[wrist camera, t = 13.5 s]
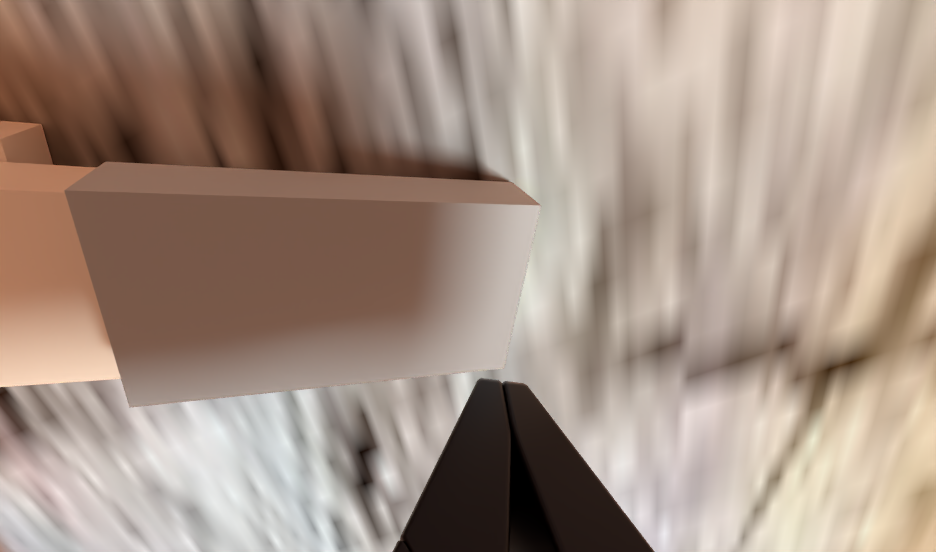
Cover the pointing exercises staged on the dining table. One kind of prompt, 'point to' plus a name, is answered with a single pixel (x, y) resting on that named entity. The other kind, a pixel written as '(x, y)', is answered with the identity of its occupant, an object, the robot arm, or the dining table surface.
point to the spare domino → (298, 276)
